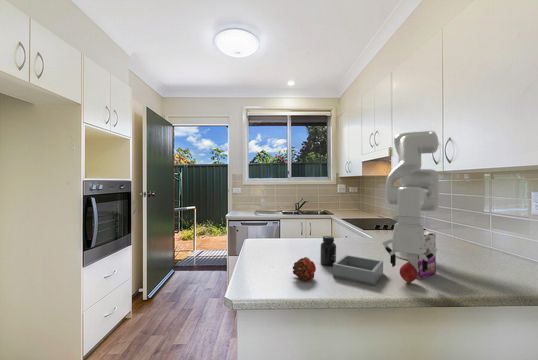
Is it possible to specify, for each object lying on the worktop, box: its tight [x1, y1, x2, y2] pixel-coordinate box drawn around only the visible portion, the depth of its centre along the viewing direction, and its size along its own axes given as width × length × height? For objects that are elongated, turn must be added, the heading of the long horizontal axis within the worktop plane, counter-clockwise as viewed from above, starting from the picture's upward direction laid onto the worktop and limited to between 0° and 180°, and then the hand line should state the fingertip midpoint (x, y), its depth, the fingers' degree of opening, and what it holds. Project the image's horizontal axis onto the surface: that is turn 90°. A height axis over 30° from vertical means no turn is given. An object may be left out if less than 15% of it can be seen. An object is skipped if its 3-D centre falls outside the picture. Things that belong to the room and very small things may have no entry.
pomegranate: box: [399, 260, 418, 284], centre depth 94 cm, size 6×6×8 cm
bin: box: [332, 254, 384, 287], centre depth 102 cm, size 15×15×5 cm
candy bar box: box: [407, 230, 437, 279], centre depth 103 cm, size 11×5×16 cm, turn 117°
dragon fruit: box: [292, 256, 317, 282], centre depth 99 cm, size 8×8×12 cm
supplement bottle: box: [319, 235, 337, 267], centre depth 115 cm, size 7×7×12 cm
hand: (408, 268), depth 94 cm, fingers open, 9 cm apart
